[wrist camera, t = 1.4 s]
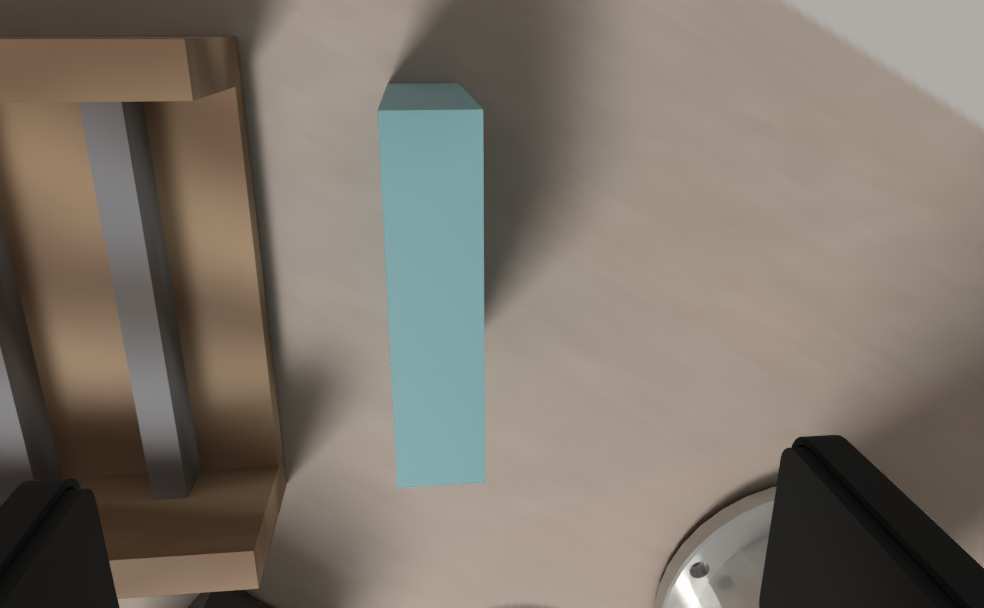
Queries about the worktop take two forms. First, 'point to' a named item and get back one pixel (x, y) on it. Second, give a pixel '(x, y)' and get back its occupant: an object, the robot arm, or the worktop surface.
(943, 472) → the worktop surface
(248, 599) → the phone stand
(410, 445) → the door panel
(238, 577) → the cabinet track
